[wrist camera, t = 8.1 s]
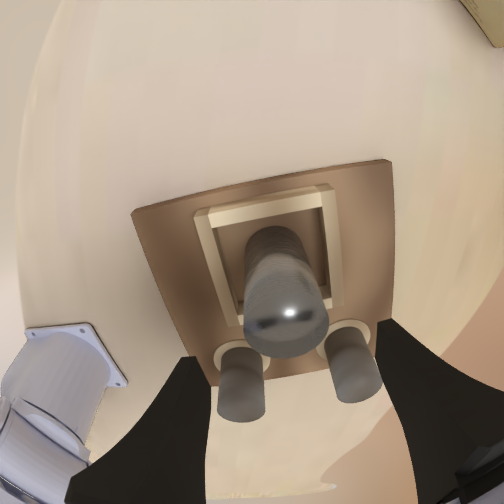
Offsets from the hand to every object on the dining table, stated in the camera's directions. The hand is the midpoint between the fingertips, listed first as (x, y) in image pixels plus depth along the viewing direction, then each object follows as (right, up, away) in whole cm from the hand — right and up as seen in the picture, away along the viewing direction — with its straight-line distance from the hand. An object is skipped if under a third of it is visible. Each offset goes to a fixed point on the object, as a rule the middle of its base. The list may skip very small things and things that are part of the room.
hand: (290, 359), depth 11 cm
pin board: (+1, +1, +10) cm, 10 cm away
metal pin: (0, +4, +7) cm, 8 cm away
